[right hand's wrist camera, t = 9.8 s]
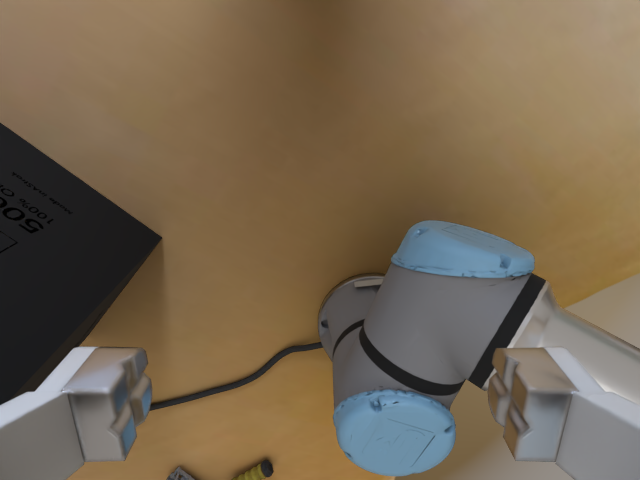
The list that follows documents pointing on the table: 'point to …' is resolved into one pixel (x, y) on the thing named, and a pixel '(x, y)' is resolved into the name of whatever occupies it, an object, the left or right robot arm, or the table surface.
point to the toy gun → (251, 476)
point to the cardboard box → (55, 262)
